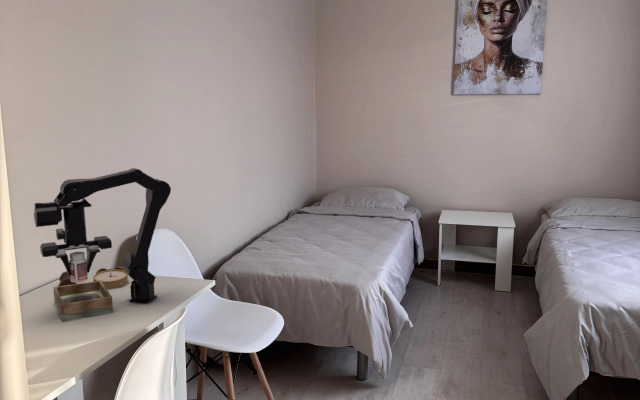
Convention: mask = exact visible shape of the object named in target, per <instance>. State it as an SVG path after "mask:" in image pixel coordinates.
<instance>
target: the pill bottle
mask: <svg viewBox="0 0 640 400" xmlns="http://www.w3.org/2000/svg"><path fill="white" fill-rule="evenodd" d="M85 254H86V253H85V252H84V251H74V252H71V253H69V260H68V261H69V266H70V271H71V275H70V279H71V282H75V283H77V284H79V283H85V282H86V281H87V280H88V279H89V275H88V274H89V273H87V258H86V257H85V256H86V255H85Z"/></svg>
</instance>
